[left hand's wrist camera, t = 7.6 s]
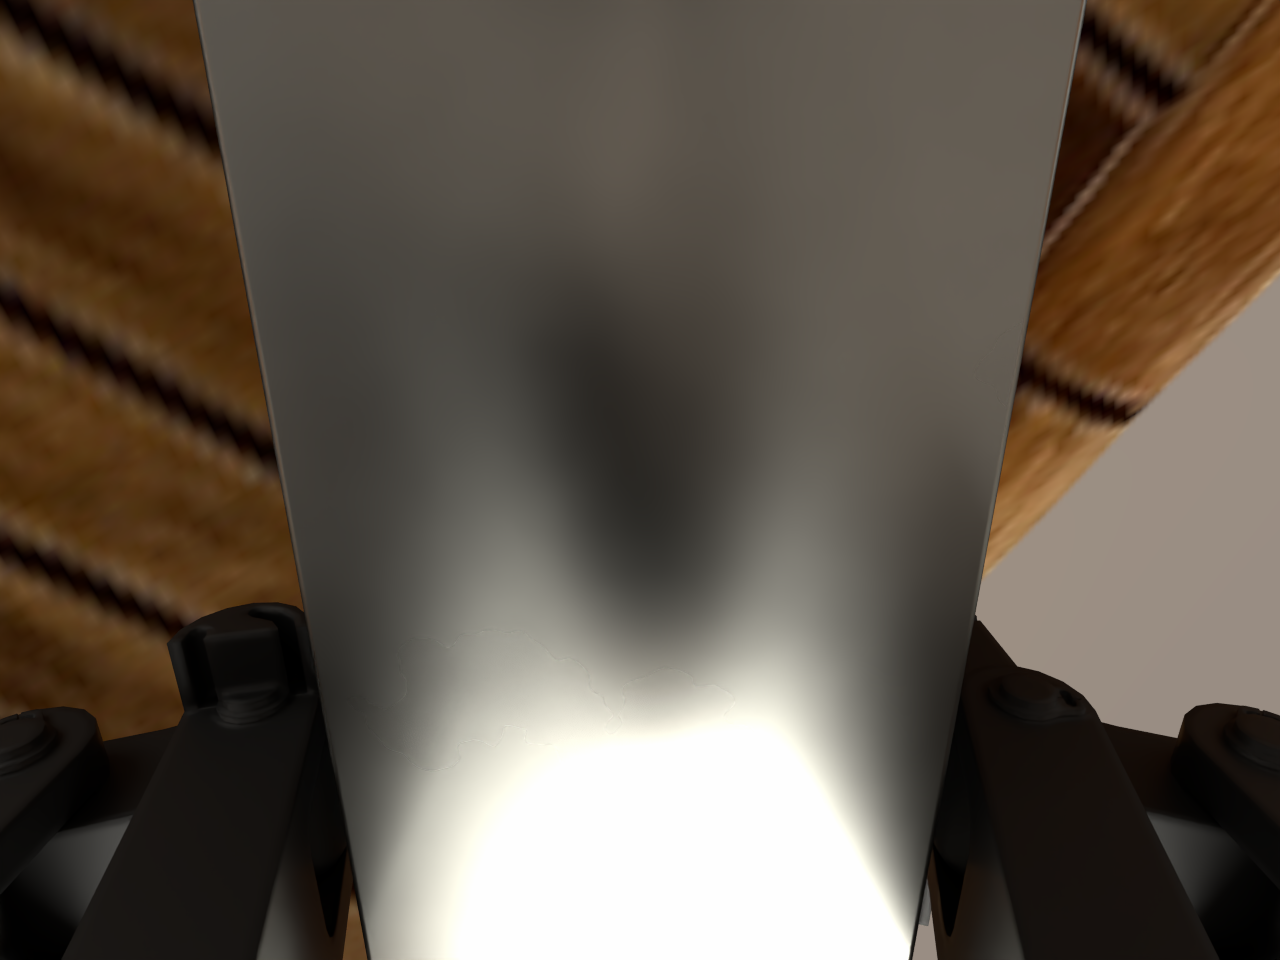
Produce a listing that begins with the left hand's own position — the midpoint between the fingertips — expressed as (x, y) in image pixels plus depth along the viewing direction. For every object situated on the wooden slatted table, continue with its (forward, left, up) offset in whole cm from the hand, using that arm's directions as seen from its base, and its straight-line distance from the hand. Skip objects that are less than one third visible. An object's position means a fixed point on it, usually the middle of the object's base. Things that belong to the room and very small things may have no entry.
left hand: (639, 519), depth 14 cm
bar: (-4, +7, -1) cm, 8 cm away
